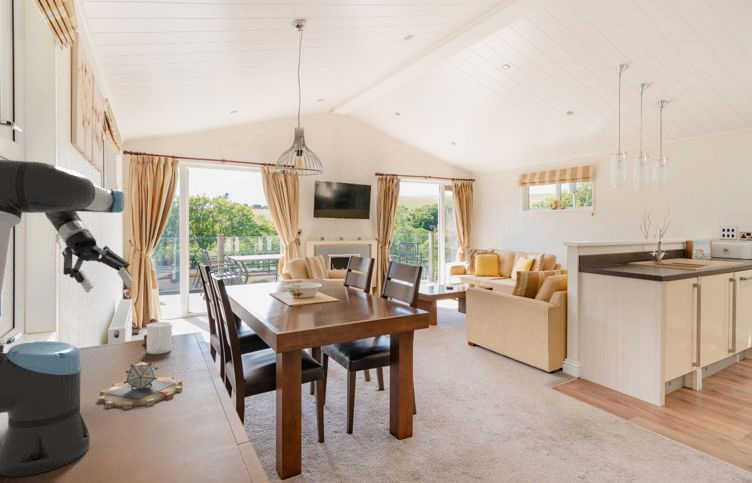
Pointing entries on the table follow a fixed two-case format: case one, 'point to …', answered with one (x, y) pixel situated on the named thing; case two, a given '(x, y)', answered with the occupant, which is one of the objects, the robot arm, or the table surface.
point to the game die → (141, 375)
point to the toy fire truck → (146, 335)
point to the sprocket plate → (140, 393)
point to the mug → (159, 337)
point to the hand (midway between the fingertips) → (111, 286)
